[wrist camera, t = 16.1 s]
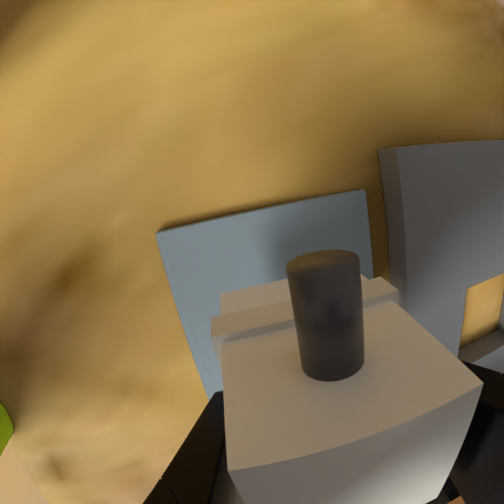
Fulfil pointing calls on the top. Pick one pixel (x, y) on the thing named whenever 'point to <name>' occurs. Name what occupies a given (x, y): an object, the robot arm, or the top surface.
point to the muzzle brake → (446, 493)
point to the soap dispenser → (4, 428)
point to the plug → (336, 390)
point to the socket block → (446, 235)
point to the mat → (253, 258)
